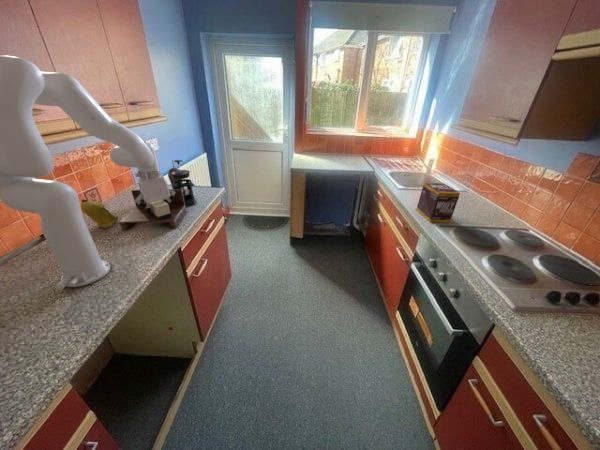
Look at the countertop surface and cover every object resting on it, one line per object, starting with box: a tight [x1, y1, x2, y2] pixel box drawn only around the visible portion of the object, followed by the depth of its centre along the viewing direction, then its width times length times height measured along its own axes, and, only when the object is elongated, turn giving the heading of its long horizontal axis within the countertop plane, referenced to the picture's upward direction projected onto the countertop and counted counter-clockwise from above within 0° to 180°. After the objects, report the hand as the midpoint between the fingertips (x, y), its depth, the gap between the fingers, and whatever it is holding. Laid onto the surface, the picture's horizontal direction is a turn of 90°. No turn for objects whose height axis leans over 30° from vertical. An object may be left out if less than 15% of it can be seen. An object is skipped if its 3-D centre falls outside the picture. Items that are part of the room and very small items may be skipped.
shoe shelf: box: [119, 188, 187, 231], centre depth 112 cm, size 17×22×12 cm
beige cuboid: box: [149, 200, 172, 220], centre depth 111 cm, size 12×5×6 cm, turn 47°
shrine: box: [80, 199, 119, 229], centre depth 105 cm, size 12×8×15 cm
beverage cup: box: [167, 160, 183, 190], centre depth 138 cm, size 7×7×20 cm
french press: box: [171, 159, 197, 207], centre depth 127 cm, size 12×9×23 cm
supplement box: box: [416, 182, 461, 223], centre depth 125 cm, size 10×15×16 cm
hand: (160, 212), depth 111 cm, fingers open, 7 cm apart
